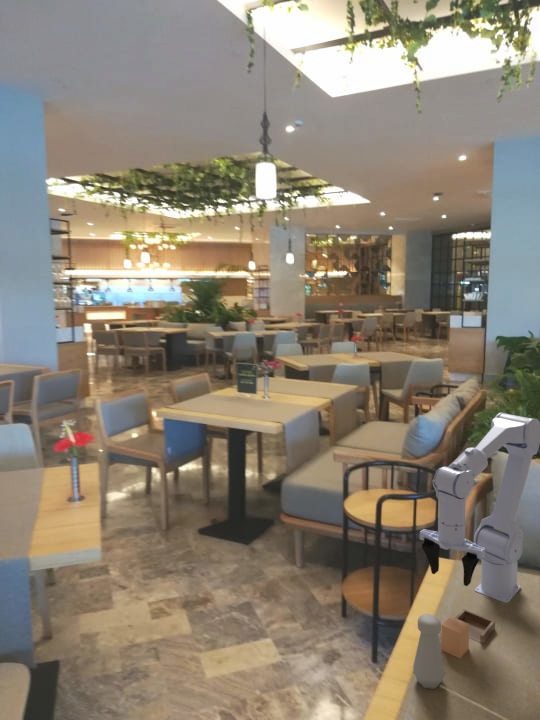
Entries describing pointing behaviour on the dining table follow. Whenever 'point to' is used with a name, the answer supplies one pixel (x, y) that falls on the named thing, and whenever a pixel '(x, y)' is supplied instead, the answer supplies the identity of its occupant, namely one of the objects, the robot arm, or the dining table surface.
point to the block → (455, 637)
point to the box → (477, 625)
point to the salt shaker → (429, 653)
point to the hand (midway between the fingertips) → (450, 577)
